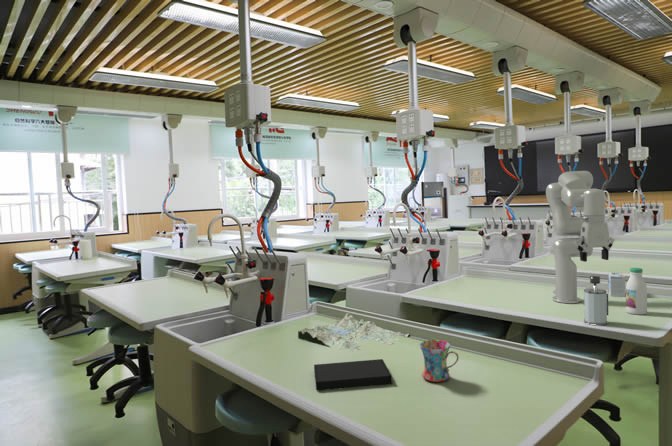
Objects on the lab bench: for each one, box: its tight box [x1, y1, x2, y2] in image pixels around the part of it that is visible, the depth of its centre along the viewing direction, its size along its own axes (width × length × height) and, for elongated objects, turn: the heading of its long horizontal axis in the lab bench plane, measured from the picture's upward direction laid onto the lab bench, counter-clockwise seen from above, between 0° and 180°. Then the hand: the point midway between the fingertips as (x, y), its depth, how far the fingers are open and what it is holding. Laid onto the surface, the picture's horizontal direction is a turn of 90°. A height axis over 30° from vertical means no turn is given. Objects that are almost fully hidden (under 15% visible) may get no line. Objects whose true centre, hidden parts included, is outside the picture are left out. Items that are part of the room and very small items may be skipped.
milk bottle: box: [625, 267, 648, 316], centre depth 194 cm, size 8×8×20 cm
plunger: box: [589, 275, 601, 291], centre depth 182 cm, size 6×6×15 cm
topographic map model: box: [297, 312, 411, 352], centre depth 179 cm, size 36×29×5 cm
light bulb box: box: [607, 272, 626, 298], centre depth 228 cm, size 11×7×11 cm, turn 154°
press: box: [583, 287, 609, 326], centre depth 183 cm, size 8×9×14 cm
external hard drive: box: [313, 358, 393, 391], centre depth 139 cm, size 14×23×3 cm, turn 95°
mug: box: [419, 339, 460, 383], centre depth 135 cm, size 12×9×11 cm
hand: (594, 260), depth 182 cm, fingers open, 9 cm apart
